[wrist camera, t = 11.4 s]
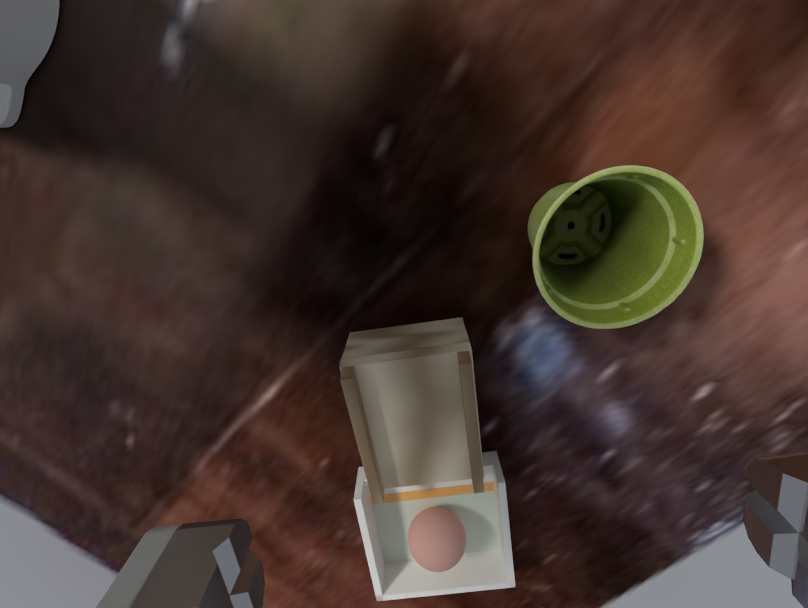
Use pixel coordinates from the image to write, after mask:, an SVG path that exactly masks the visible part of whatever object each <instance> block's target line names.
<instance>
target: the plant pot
mask: <svg viewBox="0 0 808 608" xmlns="http://www.w3.org/2000/svg"><path fill="white" fill-rule="evenodd" d="M577 190H580V191H581V194H580V195H577V194H572V193H574V192H575V191H577ZM601 214H604V215H605V227H604V229H603V231H602V232H599V227H600V224H601ZM569 222H573V223H574V227H573V229H569V228H568V223H569ZM528 237H529V241H530V244H531V246H532V249H533V254H532V263H533V272H534V277H535V280H536V283H537V286H538V288H539V290H540V292H541V294H542V296H543V297H544V299H545V300H546V302H547V303H548V304H549V305H550V307H551V308H552V309H553V310H554V311H555V312H557V313H558V314H559V315H560V316H562V317H563V318H565V319H567V320H568V321H570V322H572V323H575V324H577V325H580V326H584V327H588V328H595V329H613V328H621V327H626V326H630V325H633V324H636V323H639V322H641V321H643V320H646V319H648V318H650V317H652V316H654V315H655V314H657V313H659V312H660V311H661V310H663V309H664V308H665V307H667V306H668V305H669V304H671V303H672V302H673V301H674V300H675V299H676V298H677V297H678V296H679V295H680V294H681V293H682V291H683V290H684V289H685V288H686V286H687V285H688V283H689V281H690V280H691V278H692V277H693V275H694V273H695V270H696V269H697V266H698V264H699V261H700V258H701V254H702V248H703V240H704V231H703V223H702V218H701V215H700V212H699V209H698V206H697V204H696V202H695V201H694V199H693V197H692V196H691V195H690V193H689V192H688V191H687V189H686V188H685V187H684V186H683V185H682V184H681V183H680V182H678V181H677V180H676V179H675V178H673V177H672V176H670V175H668V174H667V173H664V172H662V171H659V170H657V169H653V168H649V167H643V166H617V167H611V168H607V169H604V170H600V171H598V172H595V173H593V174H590V175H588V176H586V177H584V178H583V179H581V180H579V181H578V182H571V183H565V184H561V185H558V186H556V187H554V188H552V189H550V190H549V191H548V192H547V193H546V194H544V195H543V196H542V197H541V198H540V199H539V201H538V202H537V203H536V204H535V205H534V207H533V209H532V211H531V214H530V217H529V220H528ZM573 253H576V254H577V256H576V257H574V258H572V259H562V258H559V257H558V255H559V254H573Z"/></svg>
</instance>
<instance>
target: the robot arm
mask: <svg viewBox="0 0 808 608" xmlns="http://www.w3.org/2000/svg"><path fill="white" fill-rule="evenodd" d="M58 15H59V0H0V128H7V127H11V126H13V125H14V124H15V123H16V122H17V120H18V118H19V115H20V112H21V108H22V103H23V97H24V91H25V86H26V83H27V81H28V80H29V78H30V76H31V75H32V74H33V72H34V71H35V70H36V68H37V67H38V66H39V64H40V63H41V62H42V60H43V59H44V57H45V55H46V54H47V52H48V50H49V48H50V45H51V43H52V40H53V37H54V34H55V31H56V26H57V22H58ZM747 480H748V481H749V482H750V484H751V485H752V486H753V487H754V488H755V491H754V492H753V493H752V494H751V495H750V496H749V497H748V499H747V500H746V501H745V502H744V513H743V521H744V524H745V528H746V531H747V534H748V537H749V539H750V541H751V543H752V544H753V546H754V548H755V550H756V552H757V553H758V554H759V555H760V557H761V558H762V559H763V560H764V561H765V563H766V564H767V565H768V566H769V567H770V568H772V569H774V570H776V571H777V572H779V573H781V574H783V575H785V576H787V577H788V578H790V579H791V581H792V594H793V595H794V597H795V598H796V599H797V600H798V601H799V602H800V603H801V604H802V606H803V607H804V608H808V452H800V453H792V454H784V455H776V456H768V457H760V458H754V459H753V461H752V462H751V464H750V465H749V468H748V475H747ZM252 538H253V535H252V533H251V530H250V527H249V524H248V522H247V521H246V520H243V519H230V520H219V521H208V522H197V523H186V524H183V525H172V526H160V527H154V528H152V529H151V530H149V531H148V532H146V533H145V534H144V536H143V537H142V539H141V540H140V542H139V543H138V545H137V547H136V548H135V550H134V551H133V553H132V554H131V556H130V557H129V559H128V560H127V562H126V563H125V565H124V566H123V568H122V569H121V571H120V572H119V574H118V575H117V577H116V578H115V580H114V582H113V583H112V584H111V586H110V588H109V589H108V591H107V592H106V594H105V595H104V597H103V598H102V600H101V601H100V603H99V604H98V606H97V607H96V608H262V605H263V597H264V586H265V582H264V572H263V567H262V563H261V560H260V557H259V556H257V555H256V554H255V553H253V552H252V551H251V550H249V546H250V543H251V540H252Z"/></svg>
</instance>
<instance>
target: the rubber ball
mask: <svg viewBox="0 0 808 608" xmlns="http://www.w3.org/2000/svg"><path fill="white" fill-rule="evenodd" d="M408 547H409V550H410V553H411V555H412V557H413V558H414V560H415V561H416V562H417V563H418V564H419V565H420V566H421V567H423V568H424V569H426V570H429V571H432V572H443V571H447V570H449V569H451V568H452V567H454V566H455V565H456V564H457V563H458V562H459V561H460V559H461V558H462V556H463V554H464V551H465V547H466V534H465V530H464V527H463V525H462V523H461V521H460V520H459V518H458V517H457V516H456V515H455V514H454V513H453V512H451V511H449V510H448V509H445V508H442V507H430V508H427V509H424V510H422V511H421V512H420V513H418V514H417V515H416V516H415V518H414V519H413V521H412V522H411V524H410V527H409V530H408Z"/></svg>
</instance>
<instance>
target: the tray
mask: <svg viewBox="0 0 808 608" xmlns="http://www.w3.org/2000/svg"><path fill="white" fill-rule="evenodd" d="M482 459H483V470H484V477H483V481H484V491H485V492H482V493H474V490H473V484H472V479H465V480H456V481H447V482H439V483H430V484H421V485H413V486H404V487H396V488H387V489H384V504H377V505H373V501H372V497H371V494H370V490H369V486H368V482H367V479H366V475H365V471H364V468H363V467H359V468H358V475H357V481H356V488H355V494H354V503H355V508H356V512H357V516H358V521H359V525H360V529H361V534H362V538H363V543H364V547H365V551H366V556H367V560H368V564H369V569H370V573H371V578H372V582H373V586H374V591H375V595H376V599H377V601H384V600H394V599H404V598H413V597H423V596H433V595H443V594H453V593H462V592H472V591H482V590H492V589H501V588H511V587H515V577H514V567H513V556H512V546H511V536H510V526H509V515H508V505H507V495H506V484H505V479H504V476H503V472H502V469H501V465H500V462H499V458H498V455H497V451H490V452H482ZM430 507H442V508H445V509H448V510H449V511H451V512H453V513H454V514H455V515H456V516H457V517H458V518H459V520H460V521H461V523H462V525H463V527H464V530H465V534H466V547H465V551H464V554H463V556H462V558H461V559H460V561H459V562H458V563H457V564H456V565H455V566H454V567H452V568H451V569H449V570H447V571H443V572H432V571H429V570H426V569H424V568H423V567H421V566H420V565H419V564H418V563H417V562H416V561H415V560H414V558H413V557H412V555H411V553H410V550H409V547H408V530H409V527H410V524H411V522H412V521H413V519H414V518H415V516H416V515H417V514H418V513H420V512H421V511H422V510H424V509H427V508H430Z"/></svg>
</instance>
